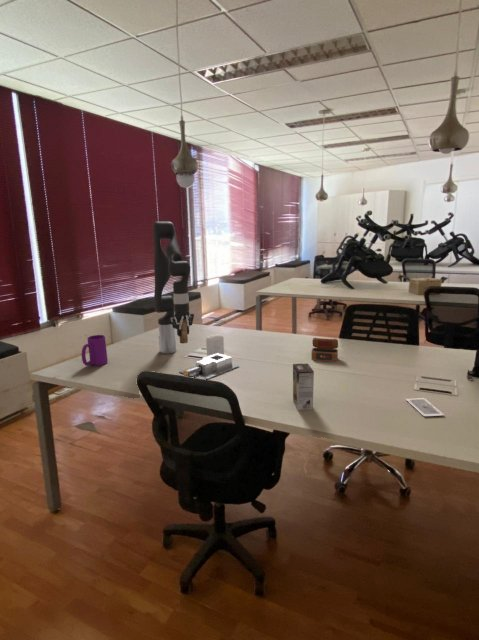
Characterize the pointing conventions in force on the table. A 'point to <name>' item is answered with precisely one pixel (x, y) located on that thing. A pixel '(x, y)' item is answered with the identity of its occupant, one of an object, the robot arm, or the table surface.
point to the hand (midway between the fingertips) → (183, 335)
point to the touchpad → (424, 407)
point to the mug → (95, 351)
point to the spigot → (184, 332)
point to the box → (325, 349)
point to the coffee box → (303, 386)
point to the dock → (213, 366)
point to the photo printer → (215, 344)
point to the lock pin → (192, 371)
